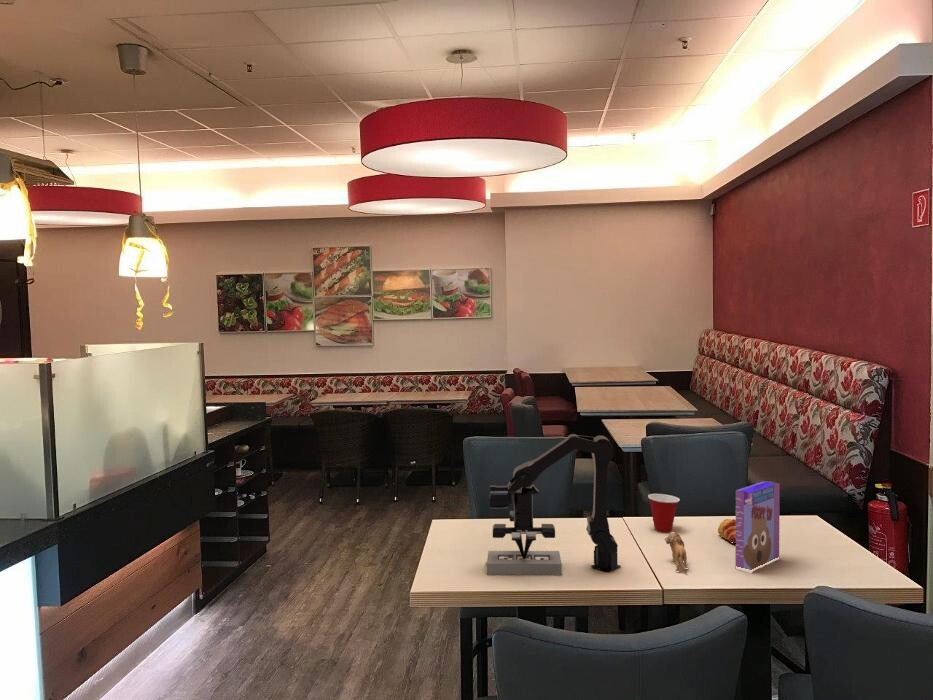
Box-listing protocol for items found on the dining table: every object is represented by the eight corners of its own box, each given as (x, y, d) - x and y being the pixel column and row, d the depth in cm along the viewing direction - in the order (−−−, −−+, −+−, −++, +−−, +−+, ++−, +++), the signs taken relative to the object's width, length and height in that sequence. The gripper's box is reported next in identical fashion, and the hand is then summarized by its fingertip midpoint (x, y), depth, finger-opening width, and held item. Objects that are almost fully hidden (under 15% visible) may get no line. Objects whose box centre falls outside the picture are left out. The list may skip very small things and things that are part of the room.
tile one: (548, 562, 233) (548, 556, 233) (549, 567, 229) (549, 560, 229) (535, 562, 234) (535, 556, 233) (535, 567, 230) (535, 560, 229)
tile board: (559, 561, 237) (559, 550, 237) (561, 575, 225) (561, 563, 225) (488, 561, 238) (488, 550, 238) (487, 574, 227) (486, 563, 226)
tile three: (512, 562, 234) (512, 556, 234) (512, 566, 230) (512, 560, 230) (499, 562, 234) (499, 555, 234) (499, 566, 230) (499, 560, 230)
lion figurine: (663, 558, 238) (663, 530, 238) (680, 558, 239) (680, 529, 238) (678, 575, 224) (678, 544, 223) (696, 574, 224) (696, 544, 223)
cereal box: (750, 573, 224) (750, 492, 223) (735, 569, 228) (735, 489, 226) (779, 559, 236) (779, 482, 234) (764, 556, 239) (764, 480, 238)
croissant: (721, 538, 270) (710, 517, 270) (748, 525, 268) (736, 505, 268) (728, 556, 249) (716, 534, 250) (757, 543, 247) (745, 520, 248)
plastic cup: (683, 534, 263) (683, 500, 262) (651, 535, 263) (651, 500, 262) (675, 525, 273) (675, 492, 273) (645, 526, 274) (645, 492, 273)
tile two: (530, 562, 234) (530, 555, 233) (530, 566, 230) (530, 560, 230) (517, 562, 234) (517, 555, 234) (517, 566, 230) (517, 560, 230)
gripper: (553, 501, 238) (553, 550, 239) (493, 501, 239) (494, 550, 240) (554, 510, 227) (555, 562, 228) (492, 510, 228) (493, 562, 229)
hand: (524, 558), depth 232 cm, fingers closed, pressing on tile two
